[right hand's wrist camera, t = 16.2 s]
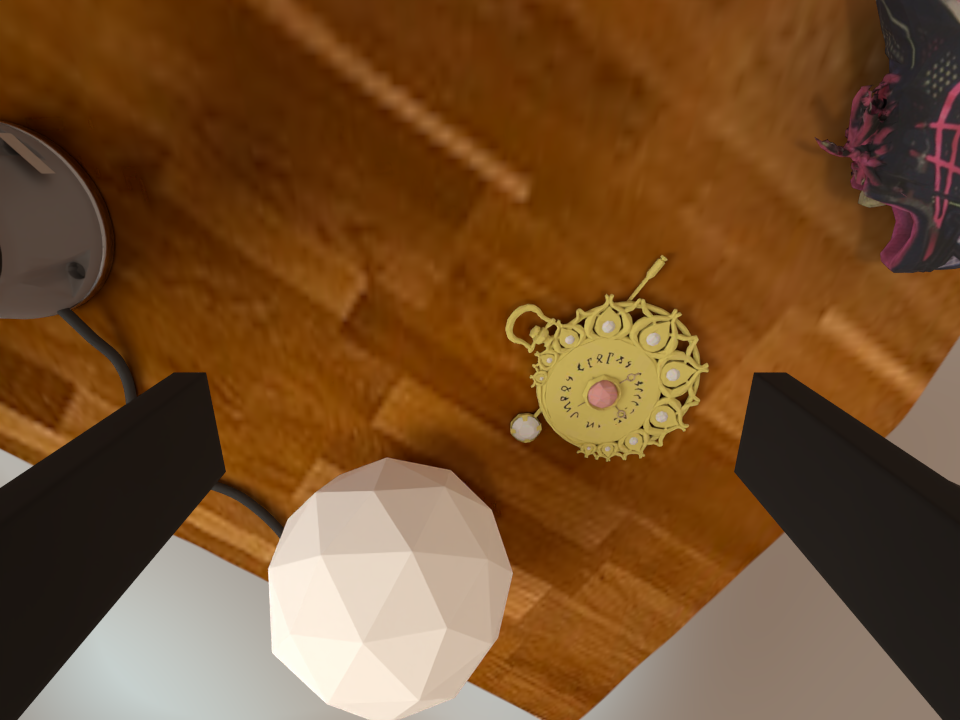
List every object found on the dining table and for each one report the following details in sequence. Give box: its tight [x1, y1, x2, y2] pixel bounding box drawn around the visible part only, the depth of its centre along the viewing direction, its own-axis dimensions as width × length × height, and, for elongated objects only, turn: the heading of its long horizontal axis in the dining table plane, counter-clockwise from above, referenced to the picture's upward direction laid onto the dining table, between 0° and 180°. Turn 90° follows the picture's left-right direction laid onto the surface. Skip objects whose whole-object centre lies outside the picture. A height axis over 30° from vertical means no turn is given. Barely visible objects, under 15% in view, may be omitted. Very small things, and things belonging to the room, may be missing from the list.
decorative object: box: [506, 255, 709, 462], centre depth 45 cm, size 21×2×20 cm
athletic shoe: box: [815, 0, 960, 273], centre depth 36 cm, size 11×22×12 cm
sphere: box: [268, 458, 513, 720], centre depth 43 cm, size 19×20×20 cm
